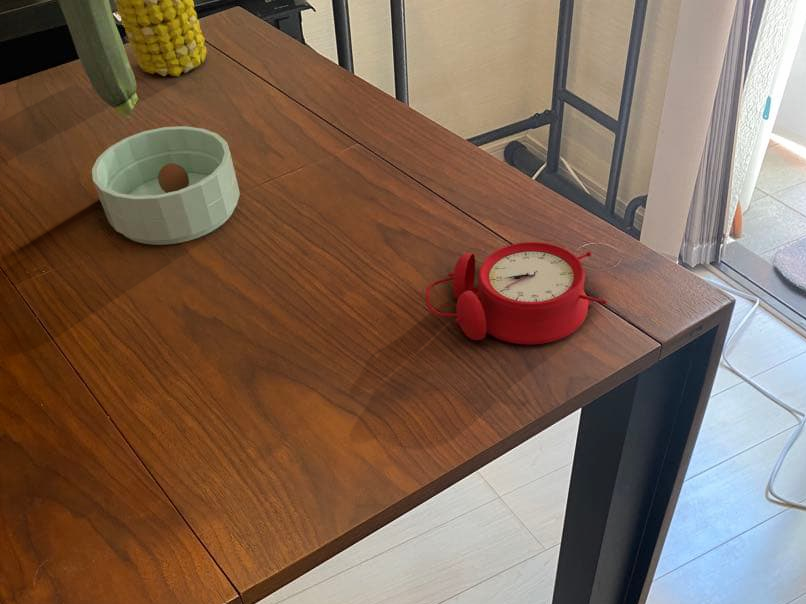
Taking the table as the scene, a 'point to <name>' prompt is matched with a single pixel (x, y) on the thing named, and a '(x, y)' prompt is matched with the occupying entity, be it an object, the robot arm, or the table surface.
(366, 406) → the table surface
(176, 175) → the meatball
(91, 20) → the vegetable
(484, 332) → the alarm clock
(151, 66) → the food
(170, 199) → the bowl
